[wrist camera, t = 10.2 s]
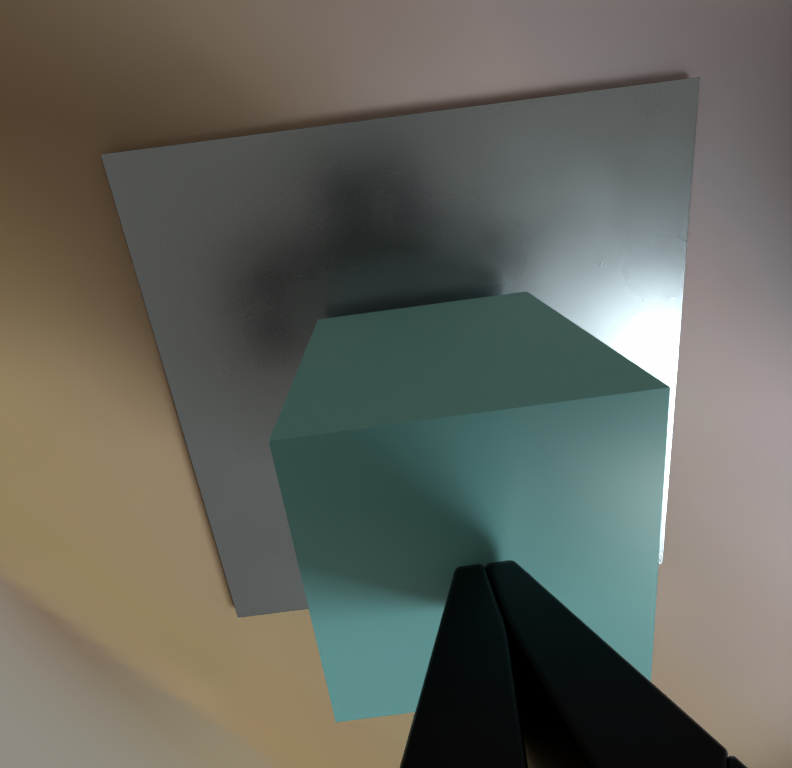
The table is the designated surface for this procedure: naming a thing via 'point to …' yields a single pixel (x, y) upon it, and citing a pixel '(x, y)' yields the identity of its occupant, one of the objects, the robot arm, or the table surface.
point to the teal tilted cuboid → (465, 481)
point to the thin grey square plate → (394, 262)
